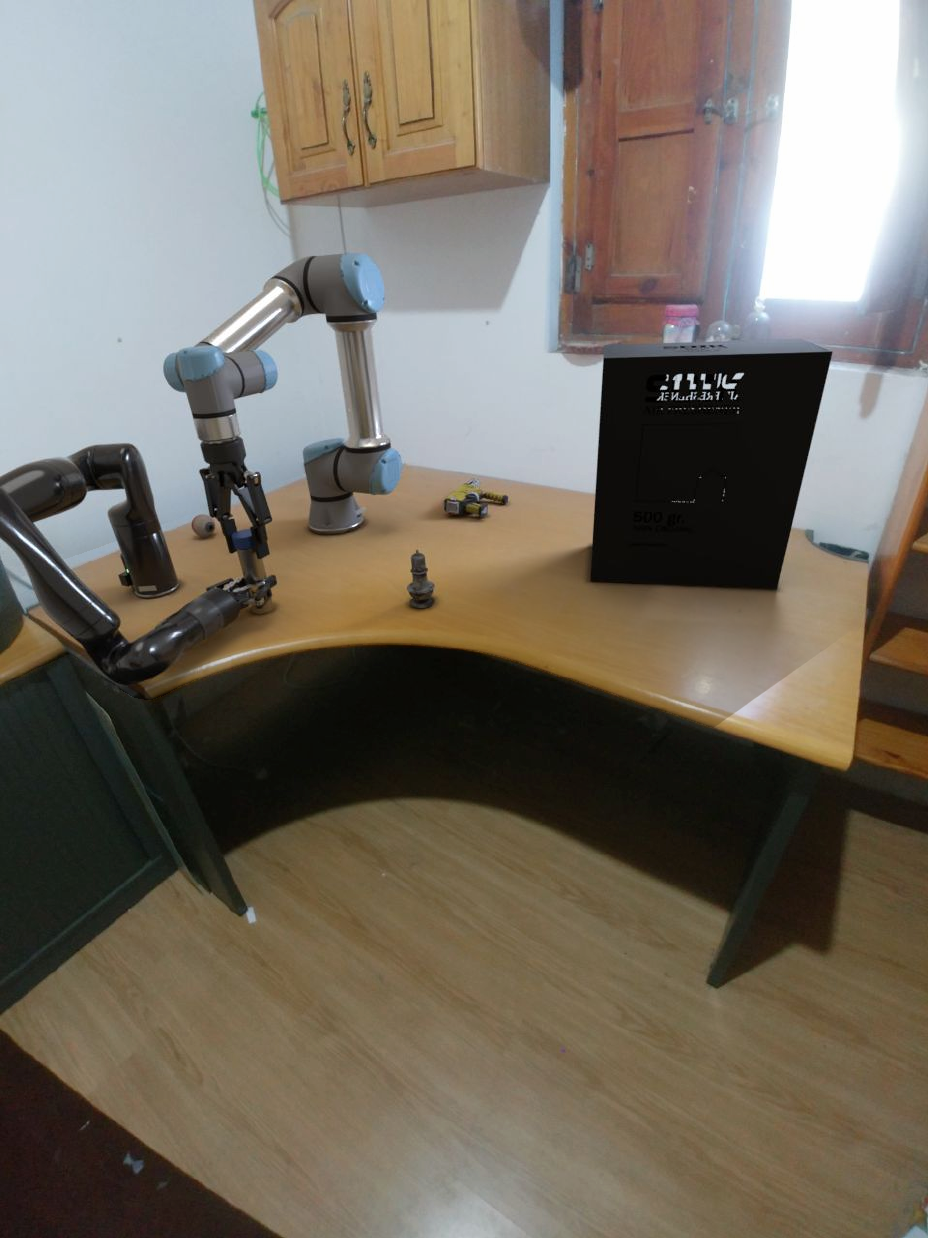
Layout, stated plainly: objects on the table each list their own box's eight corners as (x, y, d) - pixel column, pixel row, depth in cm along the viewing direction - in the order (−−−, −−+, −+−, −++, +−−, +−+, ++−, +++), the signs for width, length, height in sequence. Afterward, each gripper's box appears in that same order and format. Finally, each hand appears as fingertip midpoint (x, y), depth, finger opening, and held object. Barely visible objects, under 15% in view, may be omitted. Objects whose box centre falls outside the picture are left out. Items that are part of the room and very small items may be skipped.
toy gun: (516, 483, 183) (470, 476, 187) (493, 506, 163) (442, 498, 167) (515, 498, 186) (469, 491, 190) (492, 523, 166) (441, 514, 170)
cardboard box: (756, 549, 141) (800, 338, 118) (776, 589, 124) (832, 351, 101) (592, 544, 148) (604, 344, 126) (590, 580, 131) (603, 357, 109)
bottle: (259, 616, 126) (241, 542, 117) (248, 610, 128) (229, 537, 120) (278, 607, 128) (260, 535, 120) (266, 601, 131) (248, 530, 123)
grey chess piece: (432, 609, 124) (427, 555, 118) (404, 607, 125) (398, 554, 119) (439, 596, 129) (434, 544, 123) (412, 594, 130) (407, 543, 124)
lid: (265, 541, 122) (262, 530, 121) (248, 550, 118) (245, 539, 117) (245, 538, 124) (243, 527, 123) (228, 547, 120) (226, 536, 119)
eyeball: (204, 541, 163) (198, 520, 160) (190, 537, 166) (184, 517, 163) (223, 533, 168) (217, 513, 165) (208, 530, 171) (202, 510, 168)
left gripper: (231, 603, 110) (289, 565, 123) (172, 592, 115) (234, 557, 128) (241, 638, 113) (296, 597, 127) (184, 626, 118) (242, 588, 132)
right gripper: (276, 437, 109) (299, 553, 121) (198, 430, 118) (228, 540, 129) (245, 447, 103) (273, 568, 115) (166, 440, 112) (200, 553, 123)
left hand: (265, 577), depth 127 cm, fingers closed on bottle, 4 cm apart
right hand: (249, 553), depth 122 cm, fingers open, 7 cm apart
